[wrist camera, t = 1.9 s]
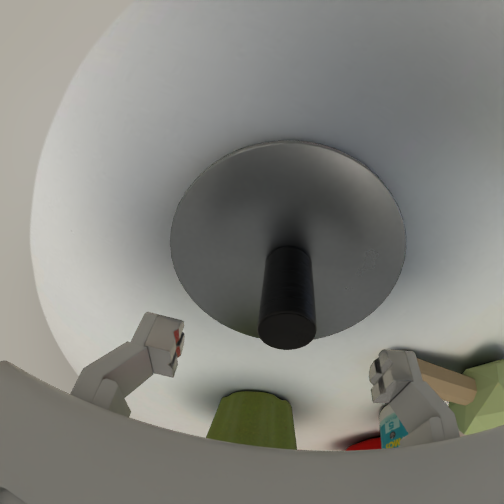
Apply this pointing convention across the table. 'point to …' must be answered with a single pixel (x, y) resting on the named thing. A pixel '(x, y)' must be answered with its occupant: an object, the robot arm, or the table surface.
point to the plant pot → (254, 421)
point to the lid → (288, 242)
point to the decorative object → (470, 393)
